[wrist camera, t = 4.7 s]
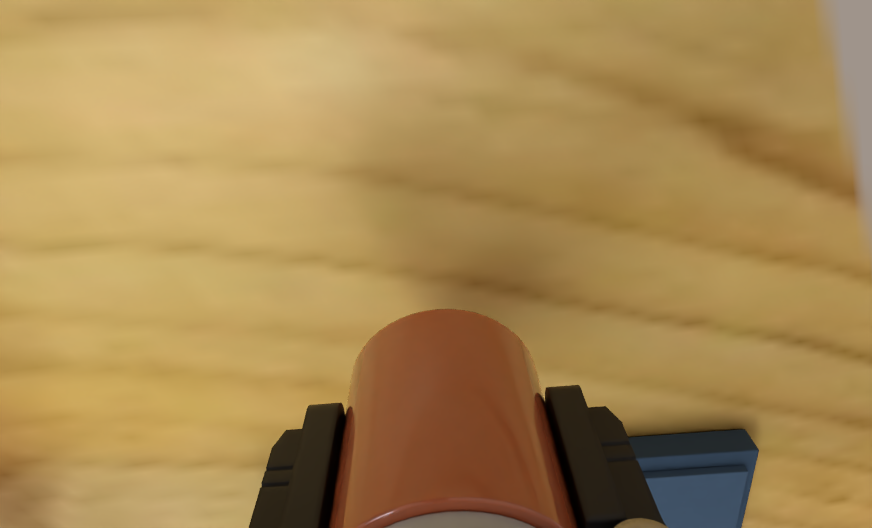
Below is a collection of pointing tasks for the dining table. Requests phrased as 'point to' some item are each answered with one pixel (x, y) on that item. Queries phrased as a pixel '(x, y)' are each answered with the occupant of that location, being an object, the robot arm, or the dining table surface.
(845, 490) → the dining table surface
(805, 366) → the dining table surface
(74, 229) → the dining table surface
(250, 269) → the dining table surface
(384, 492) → the pill bottle
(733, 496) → the blue flat rectangular block
